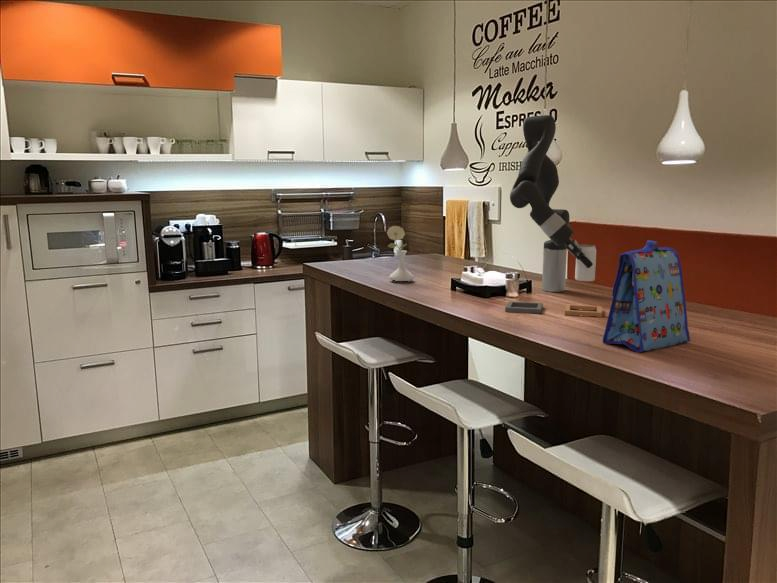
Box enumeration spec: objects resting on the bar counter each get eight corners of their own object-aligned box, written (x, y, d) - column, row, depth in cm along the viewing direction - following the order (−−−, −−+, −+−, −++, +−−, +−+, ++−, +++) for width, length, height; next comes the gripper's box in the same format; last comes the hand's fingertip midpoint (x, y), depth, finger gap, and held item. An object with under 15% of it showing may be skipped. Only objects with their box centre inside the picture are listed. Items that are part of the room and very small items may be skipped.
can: (595, 282, 217) (597, 246, 215) (575, 281, 219) (577, 246, 216) (593, 279, 224) (595, 244, 221) (574, 278, 225) (576, 244, 223)
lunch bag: (649, 333, 193) (656, 237, 188) (691, 343, 182) (699, 240, 177) (600, 343, 182) (606, 240, 177) (642, 354, 171) (649, 245, 166)
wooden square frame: (565, 308, 230) (565, 304, 230) (601, 310, 227) (601, 306, 227) (564, 315, 219) (564, 310, 219) (602, 317, 216) (602, 312, 215)
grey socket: (509, 305, 236) (509, 301, 236) (542, 307, 233) (542, 302, 232) (505, 311, 225) (505, 307, 224) (540, 313, 221) (540, 309, 221)
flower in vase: (418, 280, 293) (418, 225, 288) (408, 284, 282) (408, 227, 278) (391, 278, 298) (391, 224, 294) (381, 282, 288) (381, 226, 283)
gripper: (564, 222, 213) (599, 260, 212) (565, 220, 227) (598, 255, 225) (547, 238, 215) (582, 275, 214) (549, 235, 229) (582, 269, 228)
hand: (590, 265), depth 220 cm, fingers closed on can, 6 cm apart
